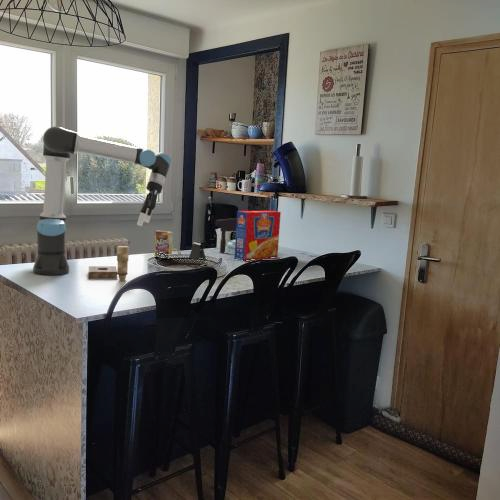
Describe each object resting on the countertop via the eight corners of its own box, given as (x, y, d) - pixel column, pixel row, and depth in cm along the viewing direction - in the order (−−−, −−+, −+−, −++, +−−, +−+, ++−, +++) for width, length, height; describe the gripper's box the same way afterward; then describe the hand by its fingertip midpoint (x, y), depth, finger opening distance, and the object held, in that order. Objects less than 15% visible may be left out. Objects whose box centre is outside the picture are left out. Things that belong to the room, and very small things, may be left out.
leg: (116, 281, 210) (117, 247, 208) (116, 279, 215) (117, 246, 212) (128, 281, 212) (129, 247, 209) (127, 279, 216) (128, 246, 214)
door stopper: (193, 267, 251) (195, 244, 249) (186, 265, 255) (187, 242, 254) (207, 265, 258) (208, 243, 256) (199, 263, 262) (201, 241, 260)
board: (88, 278, 213) (88, 271, 212) (88, 272, 224) (88, 266, 223) (117, 278, 216) (117, 271, 216) (115, 272, 228) (115, 266, 227)
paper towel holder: (207, 217, 302) (247, 216, 324) (206, 250, 305) (245, 247, 327) (223, 220, 290) (263, 219, 312) (222, 255, 293) (261, 251, 316)
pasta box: (243, 261, 276) (247, 212, 272) (234, 259, 282) (237, 211, 277) (277, 258, 296) (280, 212, 291) (267, 255, 301) (270, 210, 297)
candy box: (154, 258, 270) (154, 230, 268) (157, 256, 274) (158, 230, 272) (168, 259, 267) (169, 232, 265) (172, 258, 271) (173, 231, 269)
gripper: (169, 181, 231) (156, 223, 227) (156, 191, 254) (143, 229, 250) (155, 175, 229) (141, 217, 224) (142, 185, 251) (129, 224, 247)
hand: (142, 223), depth 237 cm, fingers open, 13 cm apart
